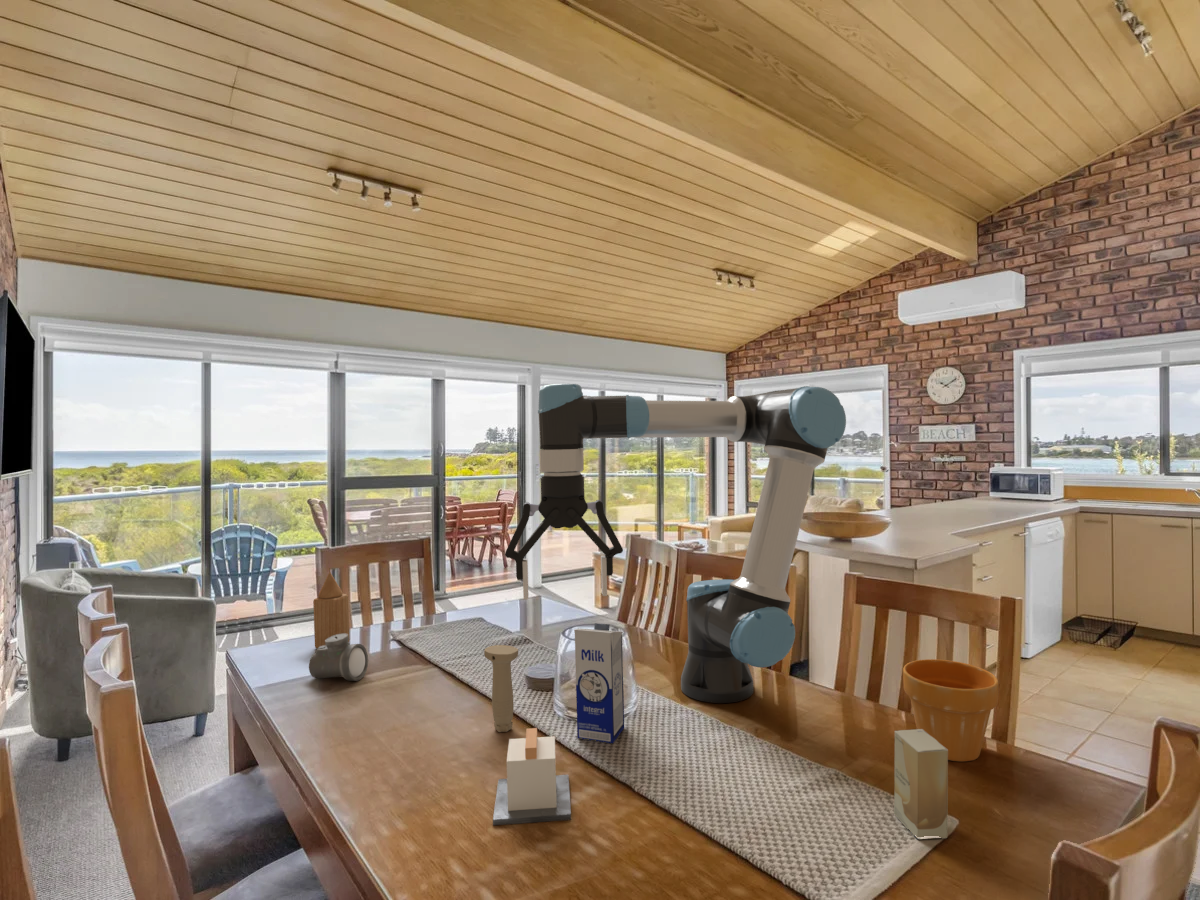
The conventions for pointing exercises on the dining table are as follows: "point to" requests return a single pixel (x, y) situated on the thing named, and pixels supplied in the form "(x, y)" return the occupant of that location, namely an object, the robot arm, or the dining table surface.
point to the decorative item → (330, 612)
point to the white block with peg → (531, 772)
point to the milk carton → (599, 683)
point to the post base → (533, 815)
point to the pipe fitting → (339, 659)
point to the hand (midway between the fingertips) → (565, 596)
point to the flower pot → (951, 703)
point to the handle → (502, 685)
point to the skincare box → (921, 783)
